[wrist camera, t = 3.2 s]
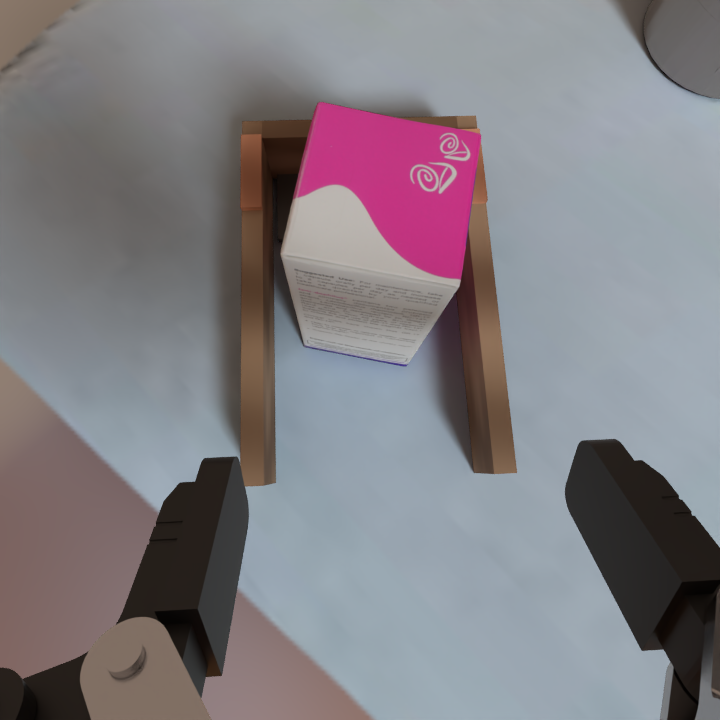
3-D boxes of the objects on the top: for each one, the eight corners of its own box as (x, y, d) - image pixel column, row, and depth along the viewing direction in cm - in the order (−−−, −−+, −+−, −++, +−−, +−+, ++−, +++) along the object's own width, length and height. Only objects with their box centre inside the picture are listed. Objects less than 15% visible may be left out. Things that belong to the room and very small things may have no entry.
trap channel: (255, 163, 28) (241, 117, 24) (460, 158, 28) (477, 111, 24) (255, 483, 24) (238, 487, 20) (493, 471, 24) (519, 472, 21)
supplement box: (411, 369, 25) (461, 292, 14) (301, 348, 25) (266, 256, 14) (428, 268, 27) (486, 126, 15) (323, 249, 27) (306, 94, 16)
